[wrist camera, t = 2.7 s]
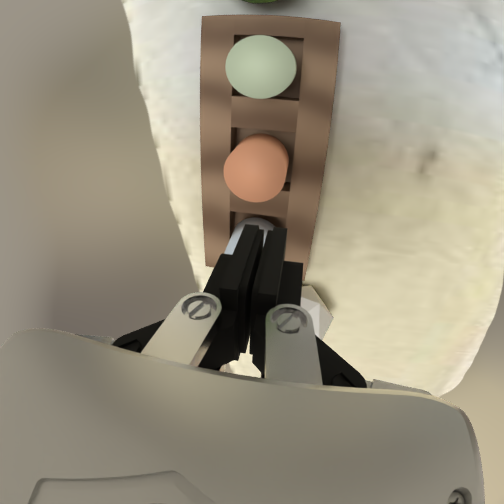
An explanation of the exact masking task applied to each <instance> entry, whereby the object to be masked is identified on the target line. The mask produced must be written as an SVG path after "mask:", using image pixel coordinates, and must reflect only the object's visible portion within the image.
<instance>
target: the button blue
mask: <svg viewBox="0 0 504 504" xmlns="http://www.w3.org/2000/svg"><path fill="white" fill-rule="evenodd" d="M245 224H250V225H259V229H264V243H265V239H266V236H267V232H268V230H273V228H274V227H275V226H274V225H273V224H272V223H270V222H269V221H267V220H265V219H262V218H255V217H254V218H247V219H244V220H242V221H241V222H239V223H238V224H237V225H236V227H235V229H234V231H233V233H232V236H231V238H230V240H229V243H228V245H227V247H226V250H225V253H224V254H231V255H232V254H233V252H234V249H235V247H236V245H237V242H238V240H239V237H240V235H241V233H242V230H243V228H244V225H245ZM263 247H264V245H263Z"/></svg>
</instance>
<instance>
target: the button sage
mask: <svg viewBox="0 0 504 504" xmlns="http://www.w3.org/2000/svg"><path fill="white" fill-rule="evenodd" d="M225 69H226V75H227V78H228V80H229V82H230V83H231V85H232V86H233V87H234V88H235V89H236V90H237V91H238V92H240V93H241V94H243V95H245V96H248V97H251V98H256V99H265V98H270V97H273V96H276V95H278V94H280V93H281V92H283V91H284V90H285V89H286V88H287V87H288V86H289V85H290V84H291V83H292V81H293V80H294V78H295V76H296V72H297V63H296V59H295V56H294V54H293V53H292V51H291V50H290V49H289V48H288V47H287V46H286V45H285V44H284V43H282V42H281V41H279V40H278V39H276V38H273V37H271V36H266V35H254V36H250V37H247V38H244V39H242V40H240V41H239V42H238V43H236V44H235V45H234V46H233V47H232V49H231V50H230V52H229V53H228V56H227V59H226V65H225Z"/></svg>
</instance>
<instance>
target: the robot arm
mask: <svg viewBox="0 0 504 504" xmlns="http://www.w3.org/2000/svg"><path fill="white" fill-rule="evenodd" d="M287 229H288V228H279V227H274V228H273V230H268V232H267V236H266V239H265V243H264V229H259V225H250V224H245V225H244V228H243V230H242V233H241V235H240V237H239V240H238V242H237V245H236V247H235V249H234V252H233V254H232V255H231V254H223V253H222V254H221V255H220V256H219V259H218V261H217V263H216V265H215V267H214V269H213V272H212V274H211V276H210V278H209V280H208V282H207V285H206V287H205V289H204V291H203V292H197V293H192V294H189V295H187V296H185V297H183V298H182V299H181V300H180V301H179V302H178V304H177V305H176V306H175V308H174V309H173V310H172V312H171V313H170V314H169V315H168V317H167V318H166V319H164V320H162V321H159V322H157V323H154V324H152V325H149V326H146V327H144V328H141V329H139V330H136V331H134V332H131V333H129V334H126V335H123V336H122V337H120V338H118V339H117V340H113V338H112V337H102V336H90V335H78V334H71V333H68V332H63V331H59V330H54V329H44V328H34V329H26V330H21V331H18V332H16V333H14V334H13V335H12V336H11V337H9V338H8V339H7V340H6V341H5V342H4V343H3V344H2V346H1V347H0V504H485V499H484V480H483V471H482V464H481V458H480V452H479V447H478V443H477V439H476V436H475V433H474V429H473V427H472V424H471V422H470V420H469V418H468V417H467V415H466V414H465V413H464V411H463V410H461V409H460V408H459V407H458V406H456V405H454V404H452V403H450V402H448V401H446V400H443V399H440V398H438V397H435V396H433V395H431V394H430V393H429V392H427V391H424V390H421V389H416V388H411V387H406V386H402V385H397V384H393V383H388V382H384V381H380V380H376V379H373V381H372V382H370V381H366V380H365V379H364V377H363V376H362V375H361V374H360V373H359V372H358V371H357V370H355V369H354V368H353V367H352V366H351V365H350V364H348V363H347V362H346V361H345V360H344V359H343V358H342V357H340V356H339V355H338V354H337V353H336V352H335V351H333V350H332V349H331V348H330V347H329V346H328V345H326V344H325V343H324V342H323V341H322V340H321V339H320V338H318V337H317V336H316V335H315V332H314V326H313V320H312V317H311V315H310V314H309V313H308V311H307V310H305V309H304V308H302V307H301V293H302V277H303V263H300V262H291V261H284V260H285V250H286V240H287ZM263 245H264V247H263ZM249 337H250V354H253V359H252V363H253V364H254V365H255V366H256V367H257V368H258V369H259V371H260V372H261V378H257V377H251V376H244V375H238V374H232V373H227V372H224V371H225V367H226V365H225V364H227V363H229V362H231V361H233V360H237V361H238V359H239V356H240V353H246V349H247V345H248V341H249Z"/></svg>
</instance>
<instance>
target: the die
mask: <svg viewBox="0 0 504 504" xmlns="http://www.w3.org/2000/svg"><path fill="white" fill-rule="evenodd" d="M301 307H302V308H304V309H305V310H307V311H308V313H309V314H310V315H311V317H312V320H313V326H314V332H315V335H316V336H317V337H318V338H320V339H321V340H322V339H323V337H324V335H325V334H326V332H327V330H328V328H329V326H330V324H331V322H332V320H333V318H334V317H333V316H332V314H331V313H330V311H329V310H328V308H327V307H326V306H325V304H324V303H323V301H322V300H321V298H320V297H319V296H318V294H317V293H316V291H315V290H314V288H313V287H312V286H311V285H310V286H302V293H301Z"/></svg>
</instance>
